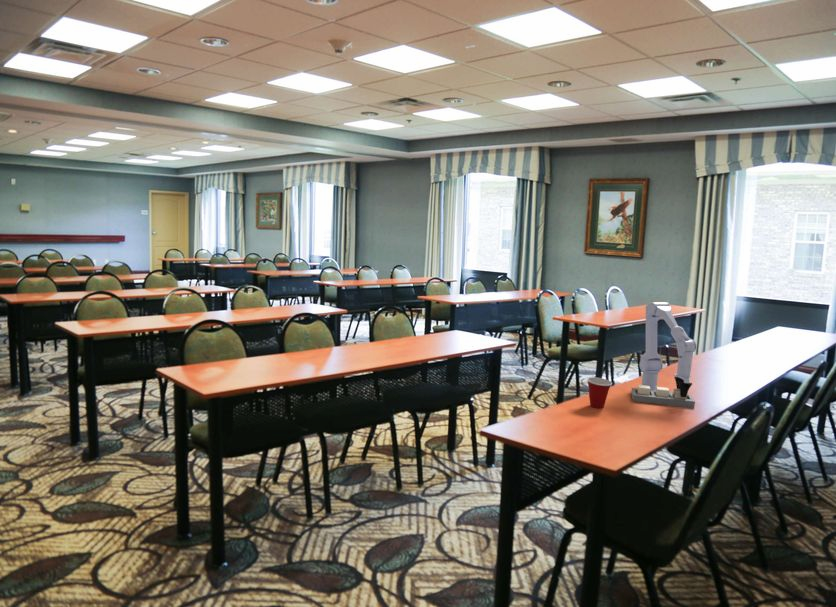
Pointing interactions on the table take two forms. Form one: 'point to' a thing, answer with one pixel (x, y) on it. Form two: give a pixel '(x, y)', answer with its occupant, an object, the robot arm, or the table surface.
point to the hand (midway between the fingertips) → (681, 394)
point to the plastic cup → (598, 391)
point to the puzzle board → (660, 397)
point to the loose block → (678, 394)
